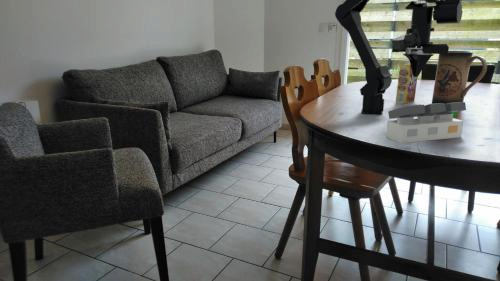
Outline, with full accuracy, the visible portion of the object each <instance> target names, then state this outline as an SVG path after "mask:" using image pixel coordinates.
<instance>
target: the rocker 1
mask: <svg viewBox="0 0 500 281" xmlns="http://www.w3.org/2000/svg"><path fill="white" fill-rule="evenodd" d="M424 106H425V104H421V103H420V104H411V105H410V104H409V105H405V106H402V107H398V108H395V109H392V110H388V119H389V120H390V119H391V120H393V119H394V120H395V119H397V117H407V116H414V115H418V114H422V113H425V107H424Z"/></svg>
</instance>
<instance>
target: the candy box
mask: <svg viewBox="0 0 500 281" xmlns="http://www.w3.org/2000/svg"><path fill="white" fill-rule="evenodd" d="M397 79H398V80H397V88H396V94H395V95H396V96H395V103H396V104H402V105H405V104H409V103H412V102H415V98H416V97H415V96H416V90H417V83H418V77H414V76H413V73H412V69H411V65H410V62H408V63H400V64H399V71H398V78H397Z"/></svg>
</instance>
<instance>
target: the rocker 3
mask: <svg viewBox="0 0 500 281" xmlns="http://www.w3.org/2000/svg"><path fill="white" fill-rule="evenodd" d="M445 107H446V111H445V112H440V113H436V114H431V115H434V116H437V114H447V113H453V112H457V113H458V112H463V111H467V106H466V101H464V102H463V101H456V102H448V103H445Z"/></svg>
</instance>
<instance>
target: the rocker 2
mask: <svg viewBox="0 0 500 281" xmlns="http://www.w3.org/2000/svg"><path fill="white" fill-rule="evenodd" d="M445 104H446V103H445V102H444V103H442V102H439V103H428V104H424V107H425V113H422V114H418V115H414V116H412V117H414V118H418V116H420V115H431V114H436V113H440V112H445V111H446V107H445Z"/></svg>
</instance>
